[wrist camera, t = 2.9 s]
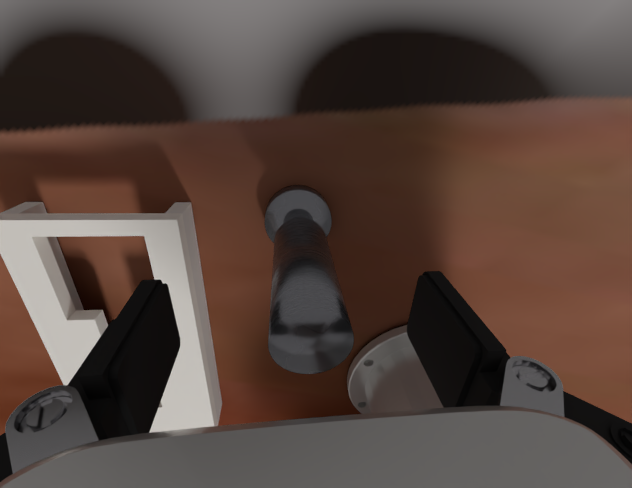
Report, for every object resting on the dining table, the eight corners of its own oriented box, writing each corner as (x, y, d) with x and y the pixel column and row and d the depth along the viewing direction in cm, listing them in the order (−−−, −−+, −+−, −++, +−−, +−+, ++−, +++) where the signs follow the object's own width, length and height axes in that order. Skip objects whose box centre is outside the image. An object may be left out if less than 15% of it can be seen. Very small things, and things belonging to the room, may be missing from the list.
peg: (327, 244, 23) (366, 383, 12) (266, 244, 22) (251, 390, 12) (330, 185, 21) (381, 290, 10) (264, 185, 20) (242, 293, 10)
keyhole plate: (222, 403, 29) (215, 435, 27) (110, 410, 28) (92, 443, 26) (191, 202, 20) (177, 219, 18) (25, 201, 19) (-16, 220, 17)
